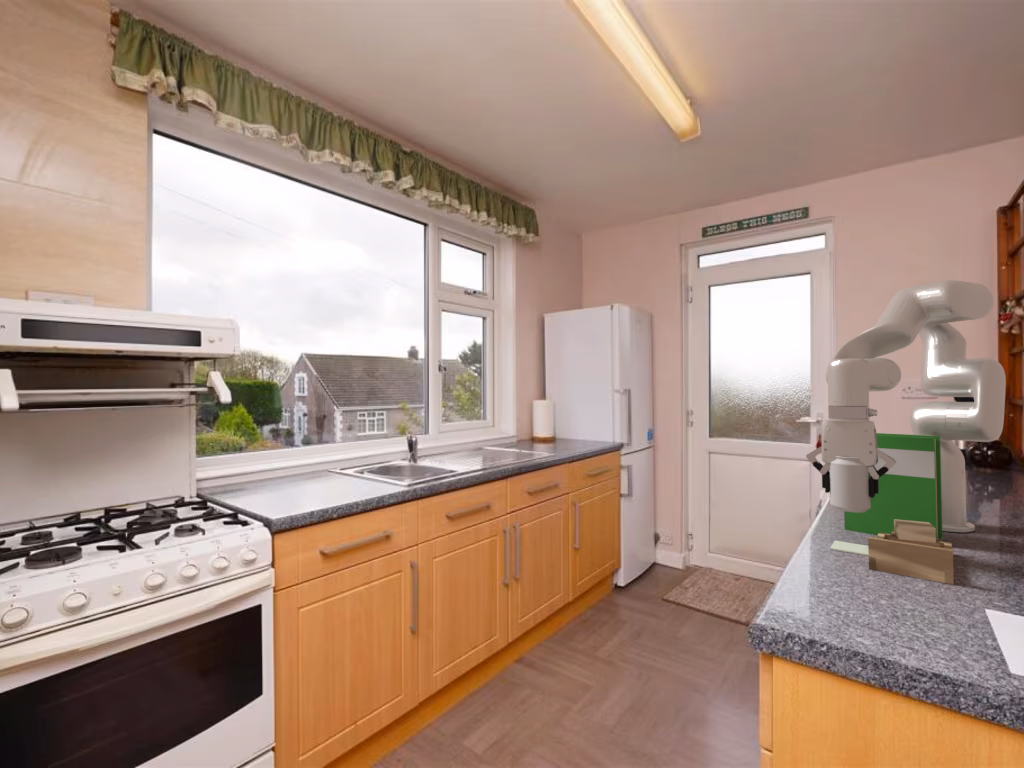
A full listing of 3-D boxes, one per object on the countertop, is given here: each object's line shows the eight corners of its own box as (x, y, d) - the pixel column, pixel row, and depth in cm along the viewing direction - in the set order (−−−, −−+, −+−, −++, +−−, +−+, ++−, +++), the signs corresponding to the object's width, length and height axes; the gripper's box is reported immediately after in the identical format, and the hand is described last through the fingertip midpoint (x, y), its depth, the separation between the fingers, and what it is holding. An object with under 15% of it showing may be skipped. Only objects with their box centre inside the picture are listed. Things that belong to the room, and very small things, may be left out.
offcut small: (894, 532, 108) (893, 519, 108) (929, 536, 105) (929, 522, 105) (898, 539, 104) (898, 524, 104) (935, 543, 101) (935, 528, 101)
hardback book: (942, 539, 115) (940, 436, 116) (936, 545, 110) (933, 438, 111) (853, 524, 129) (851, 431, 129) (844, 529, 124) (842, 433, 124)
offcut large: (891, 549, 109) (891, 531, 109) (939, 557, 104) (939, 538, 104) (890, 556, 105) (889, 537, 105) (940, 565, 99) (939, 545, 99)
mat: (835, 541, 114) (835, 540, 114) (872, 547, 110) (872, 546, 110) (829, 549, 109) (829, 547, 109) (868, 556, 104) (868, 554, 104)
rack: (879, 542, 113) (878, 516, 113) (951, 554, 105) (951, 525, 105) (868, 569, 97) (868, 538, 97) (953, 584, 89) (952, 551, 89)
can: (873, 509, 109) (872, 454, 110) (868, 515, 104) (867, 458, 104) (833, 503, 114) (832, 452, 115) (826, 509, 109) (825, 455, 109)
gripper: (899, 414, 107) (900, 496, 106) (806, 412, 118) (808, 486, 118) (896, 416, 101) (898, 502, 101) (800, 414, 112) (801, 491, 112)
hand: (849, 493), depth 109 cm, fingers closed on can, 7 cm apart
